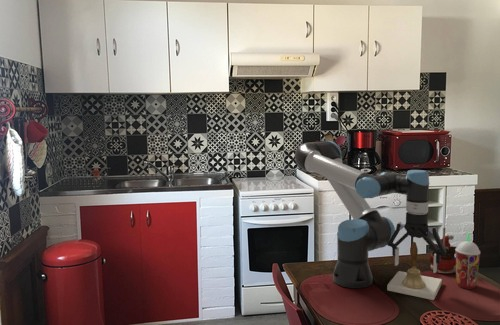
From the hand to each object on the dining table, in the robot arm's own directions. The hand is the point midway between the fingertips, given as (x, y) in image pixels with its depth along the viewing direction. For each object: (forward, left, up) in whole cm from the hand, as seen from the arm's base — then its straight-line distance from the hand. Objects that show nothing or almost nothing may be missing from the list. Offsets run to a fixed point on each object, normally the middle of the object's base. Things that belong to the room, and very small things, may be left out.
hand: (415, 268), depth 157 cm
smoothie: (+16, +11, -8) cm, 21 cm away
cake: (+6, +23, -8) cm, 25 cm away
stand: (0, 0, -7) cm, 7 cm away
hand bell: (0, -3, -6) cm, 6 cm away
